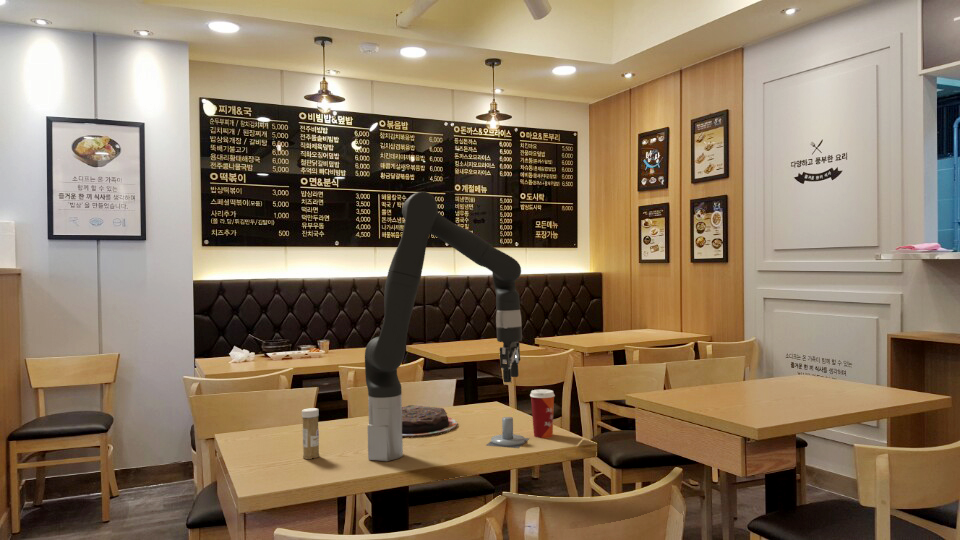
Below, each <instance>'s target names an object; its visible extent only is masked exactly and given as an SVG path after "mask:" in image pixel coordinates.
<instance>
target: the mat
mask: <svg viewBox="0 0 960 540" xmlns="http://www.w3.org/2000/svg"><path fill="white" fill-rule="evenodd" d="M524 438H525V443H526V442H527V441H528V440H530V438H528V437H524ZM523 445H524V444H521V445H518V446H497V445H494V444H492V443H491V441H490V442H488V443H486V444H485V446H486V447H500V448H511V449H512V448H513V449H519V448H521V446H523Z"/></svg>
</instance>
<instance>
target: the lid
mask: <svg viewBox="0 0 960 540" xmlns="http://www.w3.org/2000/svg"><path fill="white" fill-rule="evenodd" d="M501 423H502V424H501V427H502V428H501V429H502V430H501V431H502V434H497V435H494V436H492V437H491V438H490V442H491V443H492V444H494V445H497V446H518V445H521V444H523V445H524V444H525V443H526V442H525V438H526V437H524V436H523V435H520V434H514V417H511V416H504V417H501ZM497 446H496V447H497Z"/></svg>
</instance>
